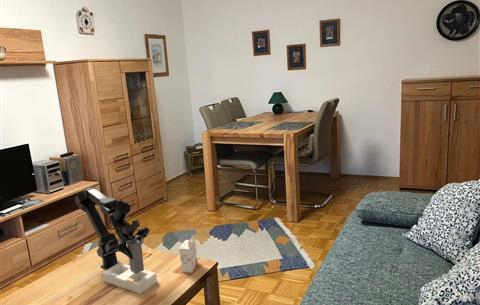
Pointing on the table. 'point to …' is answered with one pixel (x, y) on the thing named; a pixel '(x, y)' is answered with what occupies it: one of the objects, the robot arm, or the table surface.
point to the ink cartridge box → (188, 255)
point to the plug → (135, 256)
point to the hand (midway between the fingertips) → (137, 256)
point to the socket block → (129, 278)
